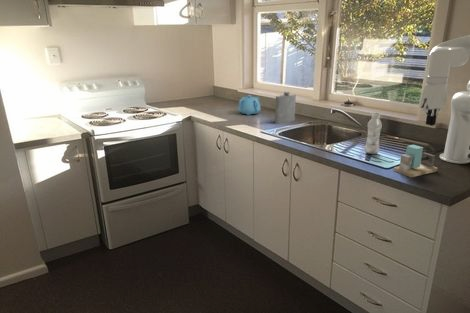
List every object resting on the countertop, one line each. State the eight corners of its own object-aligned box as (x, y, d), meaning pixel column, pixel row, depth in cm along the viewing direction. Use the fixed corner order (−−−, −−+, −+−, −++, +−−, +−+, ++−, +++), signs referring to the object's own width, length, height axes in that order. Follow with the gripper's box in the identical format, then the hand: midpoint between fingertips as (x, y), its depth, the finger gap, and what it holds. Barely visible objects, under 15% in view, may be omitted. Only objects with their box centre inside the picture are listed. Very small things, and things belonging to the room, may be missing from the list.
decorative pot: (235, 115, 264) (235, 96, 260) (241, 110, 279) (241, 92, 274) (257, 116, 260) (258, 97, 256) (262, 111, 275) (262, 93, 270)
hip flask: (292, 119, 250) (293, 90, 243) (296, 120, 247) (297, 91, 240) (274, 122, 242) (274, 92, 235) (277, 124, 239) (279, 93, 232)
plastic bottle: (373, 156, 176) (378, 115, 170) (361, 153, 182) (366, 113, 175) (381, 154, 180) (386, 113, 174) (369, 150, 185) (374, 111, 179)
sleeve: (410, 163, 159) (413, 144, 156) (419, 166, 155) (423, 147, 152) (404, 165, 158) (407, 145, 155) (413, 168, 154) (416, 148, 151)
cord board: (418, 164, 165) (421, 147, 163) (437, 171, 158) (440, 153, 155) (393, 170, 159) (395, 153, 156) (410, 177, 151) (413, 159, 149)
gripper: (440, 77, 154) (434, 120, 160) (415, 81, 148) (410, 125, 154) (458, 79, 147) (450, 124, 154) (432, 83, 141) (425, 129, 148)
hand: (430, 124), depth 154 cm, fingers closed
